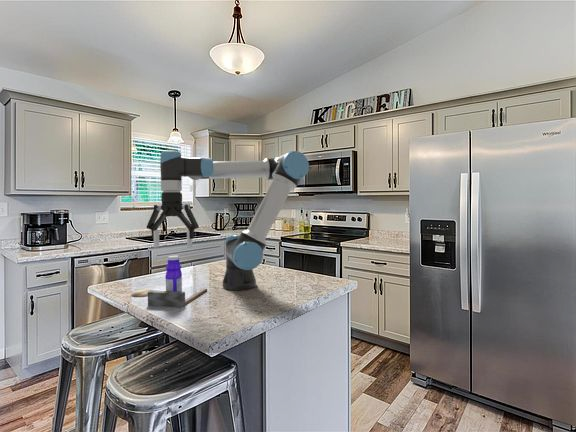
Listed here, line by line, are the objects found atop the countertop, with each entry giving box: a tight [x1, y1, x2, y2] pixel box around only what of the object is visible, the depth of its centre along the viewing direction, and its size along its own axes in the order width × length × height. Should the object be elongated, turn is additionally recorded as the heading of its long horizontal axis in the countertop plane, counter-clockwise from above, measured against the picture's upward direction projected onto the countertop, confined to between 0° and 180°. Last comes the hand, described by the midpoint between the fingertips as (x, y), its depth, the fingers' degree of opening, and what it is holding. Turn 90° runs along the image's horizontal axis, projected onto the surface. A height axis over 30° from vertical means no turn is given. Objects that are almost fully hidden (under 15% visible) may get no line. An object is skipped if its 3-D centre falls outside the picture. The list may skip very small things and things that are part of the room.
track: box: [147, 288, 208, 308], centre depth 132 cm, size 14×22×5 cm, turn 171°
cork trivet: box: [131, 289, 155, 298], centre depth 139 cm, size 9×9×1 cm
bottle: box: [165, 255, 183, 292], centre depth 128 cm, size 7×6×17 cm
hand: (173, 247), depth 128 cm, fingers open, 13 cm apart
